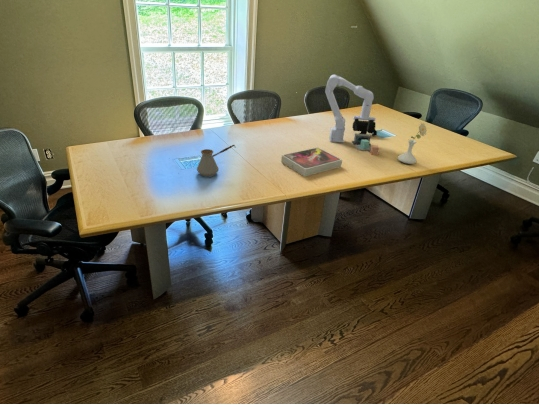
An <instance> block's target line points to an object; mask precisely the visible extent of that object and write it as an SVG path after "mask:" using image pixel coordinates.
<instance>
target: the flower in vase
mask: <svg viewBox="0 0 539 405" xmlns="http://www.w3.org/2000/svg"><path fill="white" fill-rule="evenodd" d="M427 131H428V130H427V125H425V123H424V122H423V123H422V122H421V123H420V124H419V125H418V132H417V133H416V135H415V136H414V137H413V135H411V136H410V139H408V140H407V142H408V149H407V151H406V152H404V153H402V154H399V155H398V157H397V160H398V161H399V162H401V163H403V164H406V165H407V164H408V165H413V164H415V163H417V158H416V157H415V155H414V154H413V152H412V151H413V148H414V145H415V144H416V143H417V140H415V139H416V138H417V139H418V140H419V139H421V138H422V137H425V136H426V135H427Z"/></svg>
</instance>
